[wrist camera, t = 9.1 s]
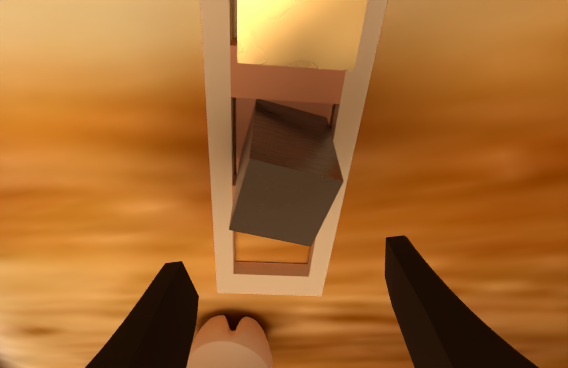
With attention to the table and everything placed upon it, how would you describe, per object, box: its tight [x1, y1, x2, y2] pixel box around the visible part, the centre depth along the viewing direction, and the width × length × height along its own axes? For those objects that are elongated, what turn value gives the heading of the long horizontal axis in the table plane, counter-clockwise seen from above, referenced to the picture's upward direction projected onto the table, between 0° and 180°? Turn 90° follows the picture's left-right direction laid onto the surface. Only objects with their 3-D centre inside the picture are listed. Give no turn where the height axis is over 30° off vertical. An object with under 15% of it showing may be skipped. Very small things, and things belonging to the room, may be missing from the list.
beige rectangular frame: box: [200, 0, 388, 296], centre depth 20 cm, size 8×26×1 cm, turn 176°
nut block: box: [229, 99, 344, 246], centre depth 18 cm, size 4×4×6 cm
